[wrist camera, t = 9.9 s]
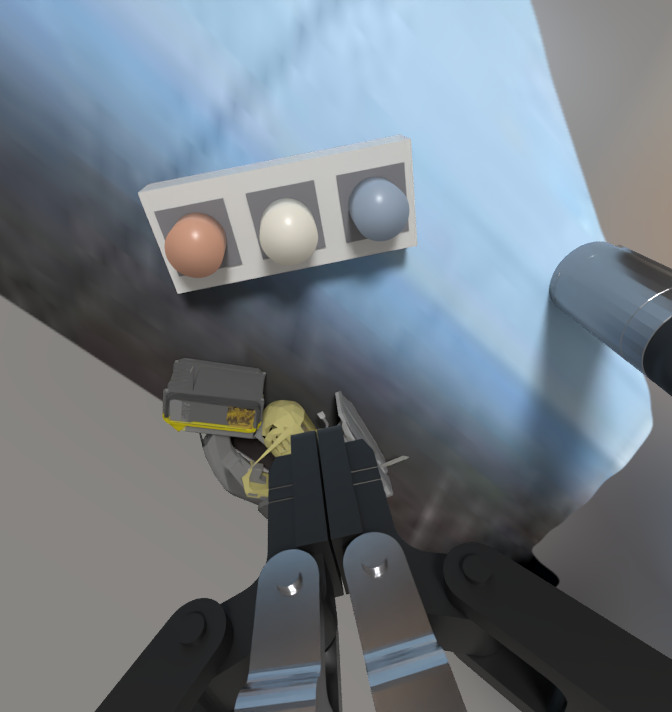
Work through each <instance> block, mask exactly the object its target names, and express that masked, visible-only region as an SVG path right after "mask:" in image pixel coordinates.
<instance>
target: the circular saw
mask: <svg viewBox="0 0 672 712" xmlns="http://www.w3.org/2000/svg"><path fill="white" fill-rule="evenodd" d="M265 377H266V372H262V371H261V370H260V369H258V368H251V367H244V366H238V365H231V364H224V363H217V362H210V361H203V360H196V359H189V358H182V359H179V360H176V361H175V363H173V374H172V378H171V379H170V382H169V383H168V387H167V389H164V390H163V419H164V420H165V422H167V423H169V424H170V425H171V426H172V427H174V428H175V429H176V430H177V431H180V430H183V431H188V432H197V433H200V438H201V442H202V446H203V450H204V453H205V457H206V459H207V461H208V462H209V465H210V467H211V469H212V471H213V473H214V475H215V476H216V478H217V479H218V480H219V482H220V483H221V485H222V486H223V487H224V489H225V490H226V491H228V492H229V493H231V494H232V495H234V496H237V497H239V498H242V499H244V500H247V501H249V502H252V503H254V504H257V505H258V511H259V512H260V513H262V515H263V516H264V517H265V518H267V519H268V505H269V502H268V491H269V489H268V473H266V472H263V464H260V463H257V462H258V461H259V460H261V459H262V458H263V457H264V456H265V455H267V454H268V453H269V452H271V453H272V454H273V455H274V456H275V457H278V456H283V455H287V454H291V441H290V437H291V435H294V434H299V433H304V432H308V431H313V430H315V431H316V434H317V429H316V428H315V426H314V425H313V423H312V421H311V420H310V418H309V417H308V415H307V414H306V412H305V411H304V409H303V407H302V406H300V405H299V404H298V403H296V402H294V401H287V400H279V401H275V402H272V403H270V404H269V405H268V406H267V407H266V408H265V409H264V408H263V406H264V399H263V397H264V394H263V388H264V383H265ZM335 395H336V402H337V409H338V415H339V417H340V418H341V421H340V422H339V423H338V425H341V426H342V431H343V436H344V441H345V442H349V441H354V440H359V439H363V440H364V441H365V442H366V443H367V444H368V445H369V446H370V447H371V448H372V449H373V451H374V454H375V458H376V462H377V465H378V469H379V473H380V476H381V480H382V483H383V487H384V491H385V494H386V497H389V496H392V495H393V491H392V487H391V483H390V479H389V476H387V475H386V474H387V472H388V470H387V467H386V466H388V465H391V464H394V463H397V462H399V461H401V460H404V459H407V458H409V457H406V456H401V457H399V458H396V459H394V460H391V461H389V462H386V463H385V459H384V456H383V454H382V453H381V451H380V450H379V448H378V445H377V443H376V442H375V440H374V439H373V437H372V435H371V434H370V432H369V430H368V429H367V427H366V426H365V424H364V422H363V421H362V419H361V417H360V416H359V414H358V413H357V411H356V409H355V408H354V406H353V404H352V403H351V401H350V402H349V401H348V400H347V399H346V398H345V397H344V396H343V394H342V392H341V391H339V392H336V393H335ZM318 416H319V417H320V419H323V421H324V422H325V424H326V428H327V427H328V425H329V424H328V422H327V420H326V419H325V415H324V413H323V411H322V412H320V413H318ZM273 425H274V426H275V427H274V426H273ZM270 428H272V430H271V431H270V432H269V430H270ZM268 432H269V433H268ZM201 433H205V434H207V435H206V436H205V438H204V439H202V435H201ZM230 436H232V437H241V438H251V439H256V438H257V439H258V440H259V441H260V442H262V443H263V444H264V445H265V446H266V447H267V448H268V449H267V450H266V451H265V453H264V454H263V455H262V456H261V457H260V458H259V459H258V460H257V461H256V462H253V461H250V462H249V461H248V460H247V459H245V458H244V457H243V456H242V455H241V454H240V453H238V452H236V450H235V449H234V447H233V446H232V444H231V438H230ZM263 436H266V438H265V439H264V438H263ZM276 436H277V437H278V438H276ZM317 438H318V435H317ZM272 441H273V443H272Z"/></svg>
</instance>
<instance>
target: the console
mask: <svg viewBox="0 0 672 712" xmlns="http://www.w3.org/2000/svg"><path fill="white" fill-rule="evenodd" d="M370 177H382V178H385V179H387V180H389V181H390V182H392V183H393V184H394V185H395V186H396V187H398V188H399V189H400V190H401V191H402V192H403V193H404V194H405V196H406V198H407V200H408V203H409V218H408V221H407V223H406V225H405V227H404V228H403V230H402V231H401V232H400V233H399V234H398V235H397V236H395V237H393V238H392V239H389V240H386V241H373V240H370V239H368V238H366V237H365V236H363V235H362V234H361V233H360V231H359V230H358V228H357V227H356V225H355V223H354V221H353V220H352V218H351V216H350V213H349V198H350V195H351V193H352V191H353V189H354V188H355V187H356V186H357V185H358V184H359V183H360V182H361V181H363V180H364V179H367V178H370ZM138 195H139V197H140V200H141V202H142V205H143V207H144V210H145V212H146V215H147V217H148V220H149V222H150V225H151V227H152V230H153V232H154V235H155V237H156V240H157V242H158V245H159V247H160V250H161V253H162V255H163V258H164V260H165V263H166V265H167V268H168V270H169V273H170V275H171V278H172V280H173V283H174V285H175V288H176V290H177V293H178V294H179V293H184V292H189V291H194V290H199V289H204V288H209V287H214V286H219V285H224V284H229V283H234V282H239V281H244V280H249V279H254V278H259V277H264V276H269V275H274V274H279V273H284V272H289V271H294V270H299V269H304V268H309V267H313V266H318V265H323V264H328V263H333V262H338V261H343V260H348V259H353V258H358V257H363V256H368V255H373V254H378V253H383V252H388V251H393V250H398V249H403V248H408V247H413V246H417V232H416V215H415V199H414V182H413V165H412V149H411V139H410V138H407V137H405V136H402V135H395V136H390V137H385V138H380V139H375V140H370V141H365V142H360V143H355V144H350V145H345V146H339V147H334V148H329V149H324V150H319V151H314V152H309V153H304V154H299V155H294V156H289V157H284V158H279V159H273V160H268V161H263V162H258V163H253V164H248V165H243V166H238V167H233V168H228V169H223V170H218V171H213V172H207V173H202V174H197V175H192V176H187V177H182V178H177V179H172V180H167V181H162V182H157V183H152V184H148V185H147V186H146V187H144V188H143V189H142V190H141V191H139V192H138ZM283 198H291V199H295V200H298V201H300V202H302V203H303V204H304V205H306V206H307V207H308V209H309V210H310V211H311V213H312V215H313V218H314V221H315V224H316V228H317V232H318V243H317V246H316V249H315V251H314V253H313V254H312V255H311V256H310V257H309V258H308V259H307V260H306V261H304V262H302V263H300V264H297V265H282V264H279V263H276V262H274V261H273V260H271V259H270V258H269V257H268V256H267V255H266V254H265V252H264V251H263V249H262V247H261V244H260V236H259V235H260V224H261V217H262V215H263V212H264V211H265V209H266V208H267V207H268V206H269V205H270V204H271V203H273V202H274V201H276V200H279V199H283ZM189 213H204V214H207V215H209V216H211V217H213V218H214V219H216V220H217V221H218V222H219V223H220V224H221V226H222V227H223V229H224V231H225V234H226V238H227V246H226V250H225V253H224V257H223V260H222V263H221V265H220V267H219V268H218V269H217V271H216V272H214V273H213V274H211V275H209V276H207V277H203V278H192V277H188V276H185V275H183V274H181V273H180V272H178V271H177V270H175V269H174V268H173V267H172V265H171V264H170V263H169V261H168V259H167V257H166V254H165V247H164V246H165V240H166V237H167V235H168V234H169V232H170V231H171V229H172V228H173V226H174V225H175V223H176V222H177V221H178V220H179V219H180V218H181V217H182V216H184V215H186V214H189Z"/></svg>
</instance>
